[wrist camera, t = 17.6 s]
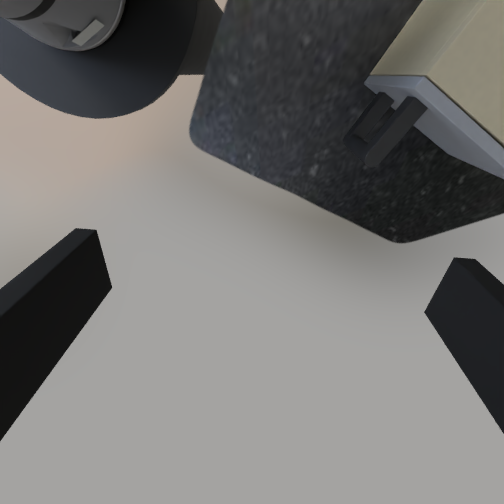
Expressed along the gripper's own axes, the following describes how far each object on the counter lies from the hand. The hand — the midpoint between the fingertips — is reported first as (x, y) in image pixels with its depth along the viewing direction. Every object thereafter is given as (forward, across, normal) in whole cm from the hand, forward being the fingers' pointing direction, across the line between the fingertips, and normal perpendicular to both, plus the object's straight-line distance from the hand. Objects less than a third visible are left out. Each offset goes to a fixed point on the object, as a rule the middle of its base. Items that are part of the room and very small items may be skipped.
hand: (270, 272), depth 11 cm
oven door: (+30, +16, 0) cm, 34 cm away
